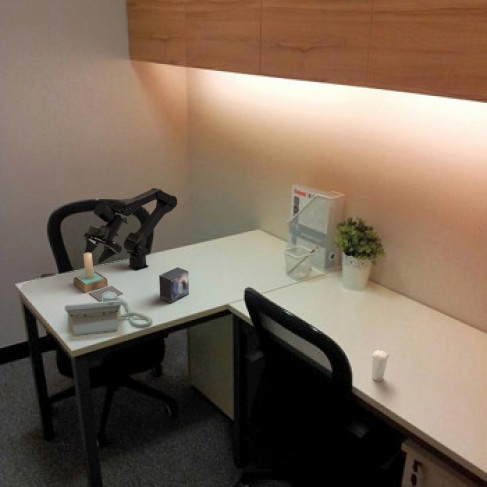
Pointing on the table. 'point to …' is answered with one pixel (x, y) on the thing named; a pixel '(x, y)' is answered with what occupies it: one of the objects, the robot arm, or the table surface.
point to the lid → (89, 271)
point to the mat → (99, 293)
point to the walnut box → (90, 286)
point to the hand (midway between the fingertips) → (91, 260)
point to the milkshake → (379, 365)
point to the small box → (174, 285)
